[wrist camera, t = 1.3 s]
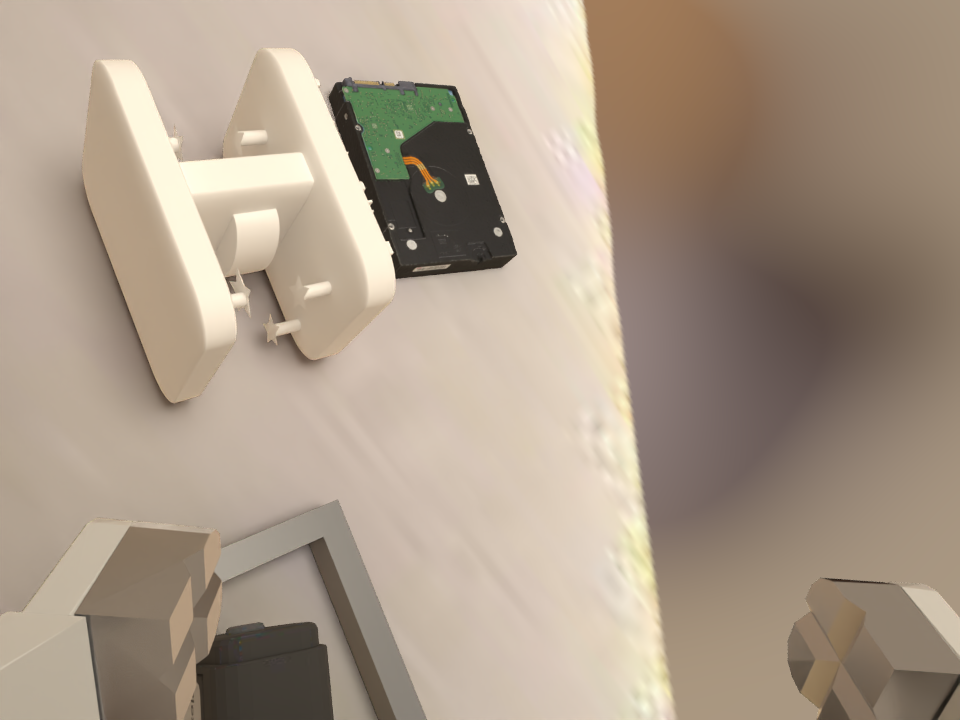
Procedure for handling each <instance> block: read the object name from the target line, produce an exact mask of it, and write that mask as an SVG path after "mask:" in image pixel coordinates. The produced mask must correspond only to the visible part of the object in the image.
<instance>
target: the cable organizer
mask: <svg viewBox="0 0 960 720" xmlns="http://www.w3.org/2000/svg"><path fill="white" fill-rule="evenodd" d="M320 86H321V85H320V83H319V80H318V79H315V78H314V76H313V74H312V71H311V69H310V67H309V65H308V64H307V62H306V61H305V59H304V58H303V56H302V55H301V54H300V53H299V52H298V51H296V50H294V49H290V48H262V49H260V50H259V51H258V52H257V53H256V55H255V58H254V61H253V63H252V66H251V69H250V71H249V74H248V77H247V79H246V82H245V84H244V87H243V90H242V92H241V95H240V98H239V100H238V103H237V106H236V108H235V111H234V114H233V116H232V119H231V121H230V124H229V127H228V129H227V132H226V135H225V137H224V141H223V159H211V160H199V161H187V162H183V157H182V152H181V146H182V141H183V137H182V136H178V135H177V131H176V128H175V125H174V137H173V138H169V137H168V134H167V132H166V129H165V127H164V124H163V122H162V119H161V117H160V114H159V112H158V109H157V107H156V104H155V102H154V99H153V97H152V94H151V92H150V89H149V87H148V85H147V82H146V80H145V78H144V76H143V74H142V72H141V71H140V69H139V68H138V66H137V65H136V64H135V63H134V62H133V61H131V60H96V61H95V62H94V65H93V69H92V77H91V87H90V96H89V105H88V114H87V123H86V132H85V141H84V150H83V159H82V173H83V180H84V186H85V190H86V194H87V198H88V201H89V204H90V207H91V210H92V213H93V216H94V218H95V221H96V224H97V226H98V229H99V232H100V234H101V237H102V240H103V242H104V245H105V247H106V250H107V253H108V255H109V258H110V261H111V263H112V266H113V269H114V271H115V274H116V277H117V279H118V282H119V284H120V287H121V290H122V292H123V295H124V298H125V300H126V303H127V306H128V308H129V311H130V314H131V316H132V319H133V321H134V324H135V327H136V329H137V332H138V335H139V337H140V340H141V343H142V345H143V348H144V351H145V353H146V356H147V358H148V361H149V364H150V366H151V369H152V372H153V374H154V377H155V379H156V381H157V383H158V385H159V387H160V389H161V391H162V392H163V394H164V395H165V397H166V398H167V399H168V400H169V401H170V402H171V403H177V402H180V401H184V400H187V399H191V398H194V397H198V396H200V395H201V394H202V392H203V391H204V389H205V387H206V386H207V384H208V383H209V381H210V380H211V378H212V377H213V375H214V374H215V372H216V371H217V369H218V368H219V366H220V365H221V363H222V362H223V360H224V359H225V357H226V356H227V354H228V353H229V351H230V350H231V348H232V347H233V345H234V343H235V341H236V336H237V324H236V315H235V310H234V309H235V308H238V311H239V310H240V309H241V308H244V309H245V311H246V312H247V313H248V315H249V316H250V318H251V315H250V306H249V298H248V297H249V294H250V291H251V290H249V289H248V288H247V287H245V285H244V282H243V280H242V278H241V274H246V273H252V272H257V271H262V270H264V269H265V271H266V273H267V276H268V278H269V281H270V283H271V285H272V288H273V290H274V293H275V295H276V298H277V300H278V303H279V305H280V308H281V310H282V312H283V315H284V317H285V320H286V322H281V323H277V324H273V321H272V317H271V314H270V317H269V322H268V323H265V324H263V325H264V327H265V329H266V331H267V343H268V342H269V341H270V340H273V341H274V342H275V343H276V345H277V339H276V336H280V335H284V334H288V333H291V334H292V337H293V339H294V341H295V342H296V344H297V346H298V347H299V349H300V350H301V352H302V353H303V354H304V355H305V356H306V357H307V358H309V359H311V360H317V359H321V358H324V357H328V356H331V355H335V354H338V353H339V352H340V351H341V350H342V349H344V348H345V347H346V346H347V345H348V344H349V343H350V342H351V341H352V340H353V339H354V338H355V337H356V336H357V335H358V334H359V333H360V332H361V331H362V330H363V329H364V328H365V327H366V326H367V325H368V324H369V323H370V322H371V321H372V320H373V319H374V318H375V317H376V316H377V315H378V314H379V313H380V312H381V311H382V310H383V309H385V308H386V307H387V306H388V305H389V304H390V303H391V301H392V300H393V297H394V294H395V286H396V281H395V271H394V266H393V261H392V258H391V255H393V250H392V248H391V246H390V243H389V241H385V239H384V237H383V235H382V232H381V230H380V228H379V225H378V223H377V221H376V218H375V216H374V214H373V212H374V210H372V209H371V207H370V205H371V204H372V202H373V201H372V200H367V198H366V195H365V193H364V190H365V189H366V188H365V186H364V184H363V182H361V181H360V182H359V179H358V177H357V175H356V172H355V170H354V168H353V166H352V163H351V161H350V159H349V156H348V152H346V149H345V147H344V145H343V143H342V140H341V138H340V136H339V133H338V131H337V129H336V126H335V121H333V120H332V117H331V115H330V113H329V110H328V108H327V106H326V103H325V101H324V99H323V97H322V94H321V92H320V90H319V88H320ZM178 158H179V159H180V160H181V161H182V162H178ZM236 275H237V276H236ZM230 276H236V282H234V281H230V283H231V285H232V287H233V289H234V292H235V294H230V291H229V288H228V285H227V282H226V280H225V277H230Z"/></svg>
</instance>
